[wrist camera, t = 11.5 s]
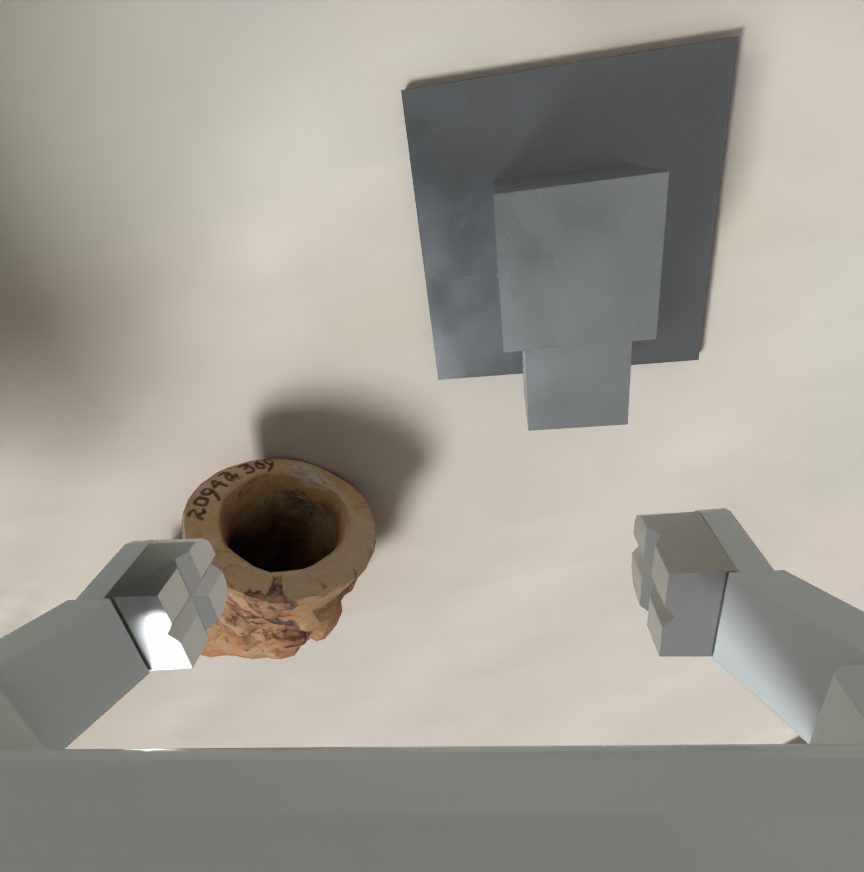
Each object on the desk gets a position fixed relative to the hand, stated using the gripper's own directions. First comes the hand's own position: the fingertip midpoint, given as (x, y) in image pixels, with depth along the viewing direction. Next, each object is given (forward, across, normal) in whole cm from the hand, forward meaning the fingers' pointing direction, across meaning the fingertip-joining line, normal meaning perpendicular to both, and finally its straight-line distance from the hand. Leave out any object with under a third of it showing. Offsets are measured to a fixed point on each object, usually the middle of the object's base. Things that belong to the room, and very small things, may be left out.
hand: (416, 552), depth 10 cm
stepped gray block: (+20, -6, 0) cm, 21 cm away
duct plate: (+20, -6, -2) cm, 21 cm away
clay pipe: (+22, +15, +16) cm, 31 cm away
